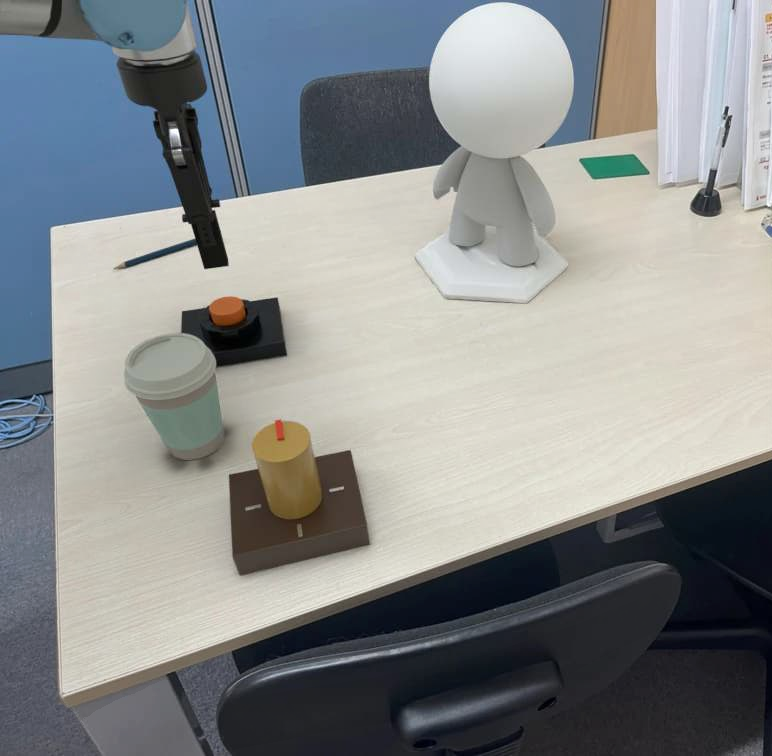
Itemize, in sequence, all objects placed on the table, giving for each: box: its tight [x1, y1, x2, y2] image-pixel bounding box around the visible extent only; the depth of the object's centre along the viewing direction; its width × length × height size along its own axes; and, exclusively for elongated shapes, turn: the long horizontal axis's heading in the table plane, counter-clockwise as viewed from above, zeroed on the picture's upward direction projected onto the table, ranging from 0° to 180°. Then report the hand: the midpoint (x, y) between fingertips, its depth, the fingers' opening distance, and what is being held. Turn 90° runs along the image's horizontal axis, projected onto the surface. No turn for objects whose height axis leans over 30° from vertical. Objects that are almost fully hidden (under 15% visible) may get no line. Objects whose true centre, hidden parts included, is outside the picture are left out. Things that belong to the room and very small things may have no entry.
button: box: [208, 295, 246, 326], centre depth 88 cm, size 4×4×2 cm
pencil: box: [112, 238, 197, 270], centre depth 105 cm, size 1×1×15 cm
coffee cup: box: [123, 332, 225, 461], centre depth 73 cm, size 8×9×12 cm
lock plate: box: [228, 449, 371, 576], centre depth 69 cm, size 12×10×3 cm
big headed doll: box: [414, 1, 575, 304], centre depth 95 cm, size 20×23×35 cm
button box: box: [180, 297, 288, 368], centre depth 89 cm, size 12×10×4 cm
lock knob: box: [251, 418, 322, 519], centre depth 65 cm, size 5×5×8 cm
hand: (216, 264), depth 84 cm, fingers closed
